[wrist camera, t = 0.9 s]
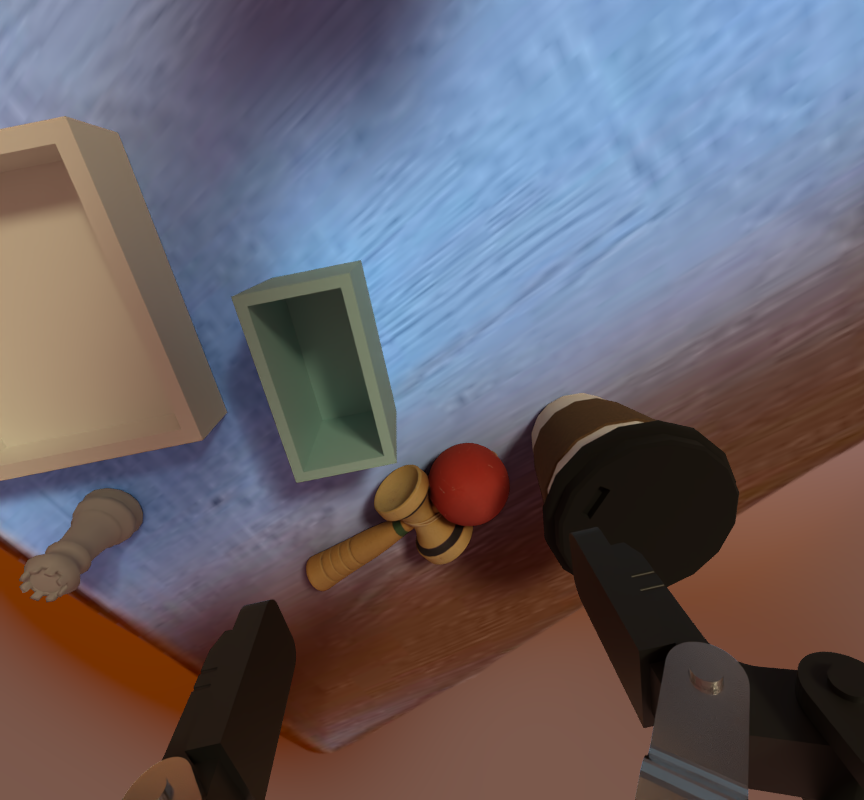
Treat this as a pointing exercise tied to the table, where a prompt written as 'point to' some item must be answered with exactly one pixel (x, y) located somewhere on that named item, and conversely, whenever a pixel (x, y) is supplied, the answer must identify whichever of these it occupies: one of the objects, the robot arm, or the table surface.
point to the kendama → (423, 512)
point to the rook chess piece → (82, 542)
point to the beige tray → (88, 309)
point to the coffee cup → (632, 484)
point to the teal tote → (322, 369)
